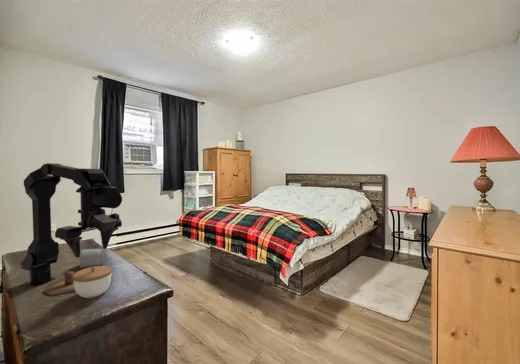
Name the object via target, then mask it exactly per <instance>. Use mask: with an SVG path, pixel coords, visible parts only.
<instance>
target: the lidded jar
mask: <svg viewBox="0 0 520 364" xmlns="http://www.w3.org/2000/svg"><path fill="white" fill-rule="evenodd" d="M112 271H113V269H112V267H111V266H109V265H99V266H93V267H87V268H82V269H80V270H78V271H76V272H75V273H74V275H73V284H74V289H75V293H76V294H77V295H78V296H80V297H82V298H84V299H92V298H96V297H99V296H101V295H103V294H104V293H105V292H106V291H107V290H108V289H109V286H110V284H111V281H112Z"/></svg>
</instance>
